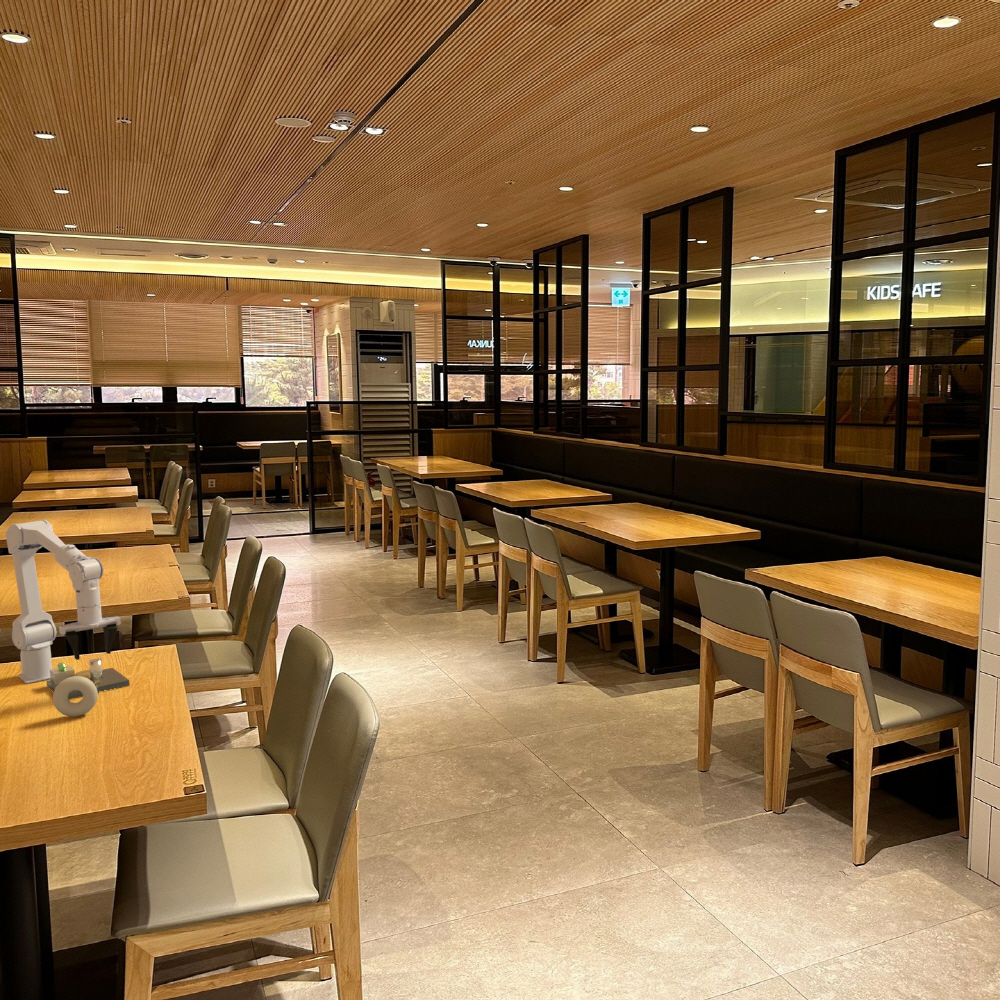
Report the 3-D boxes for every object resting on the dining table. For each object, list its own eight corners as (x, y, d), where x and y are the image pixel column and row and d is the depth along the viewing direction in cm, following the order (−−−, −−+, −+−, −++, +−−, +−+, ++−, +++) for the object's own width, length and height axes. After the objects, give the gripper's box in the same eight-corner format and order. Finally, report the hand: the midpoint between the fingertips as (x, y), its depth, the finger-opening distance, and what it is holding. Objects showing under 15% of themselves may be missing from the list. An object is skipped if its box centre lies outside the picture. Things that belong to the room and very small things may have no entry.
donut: (99, 710, 221) (96, 671, 220) (99, 715, 218) (96, 675, 217) (54, 717, 217) (51, 677, 216) (53, 721, 214) (50, 681, 213)
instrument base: (47, 686, 241) (45, 664, 240) (112, 672, 251) (111, 651, 251) (61, 700, 229) (59, 677, 228) (129, 685, 240) (127, 663, 239)
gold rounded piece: (72, 680, 240) (70, 655, 239) (95, 675, 244) (93, 650, 243) (87, 690, 232) (85, 664, 231) (111, 684, 236) (109, 658, 235)
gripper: (62, 612, 224) (67, 665, 226) (122, 603, 234) (126, 653, 235) (55, 607, 230) (59, 659, 231) (114, 598, 239) (118, 647, 241)
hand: (92, 655), depth 234 cm, fingers open, 7 cm apart
